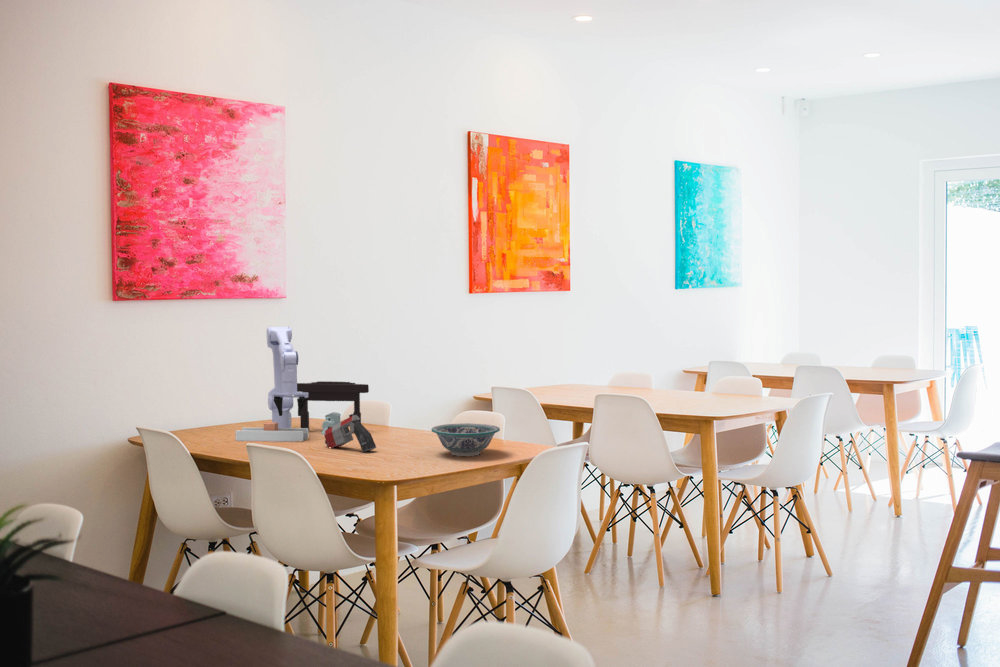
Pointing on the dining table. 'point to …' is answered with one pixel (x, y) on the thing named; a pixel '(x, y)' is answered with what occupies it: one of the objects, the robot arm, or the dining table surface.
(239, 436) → the trap channel
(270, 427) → the block
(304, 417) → the black side table
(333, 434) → the toy gun
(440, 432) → the bowl
